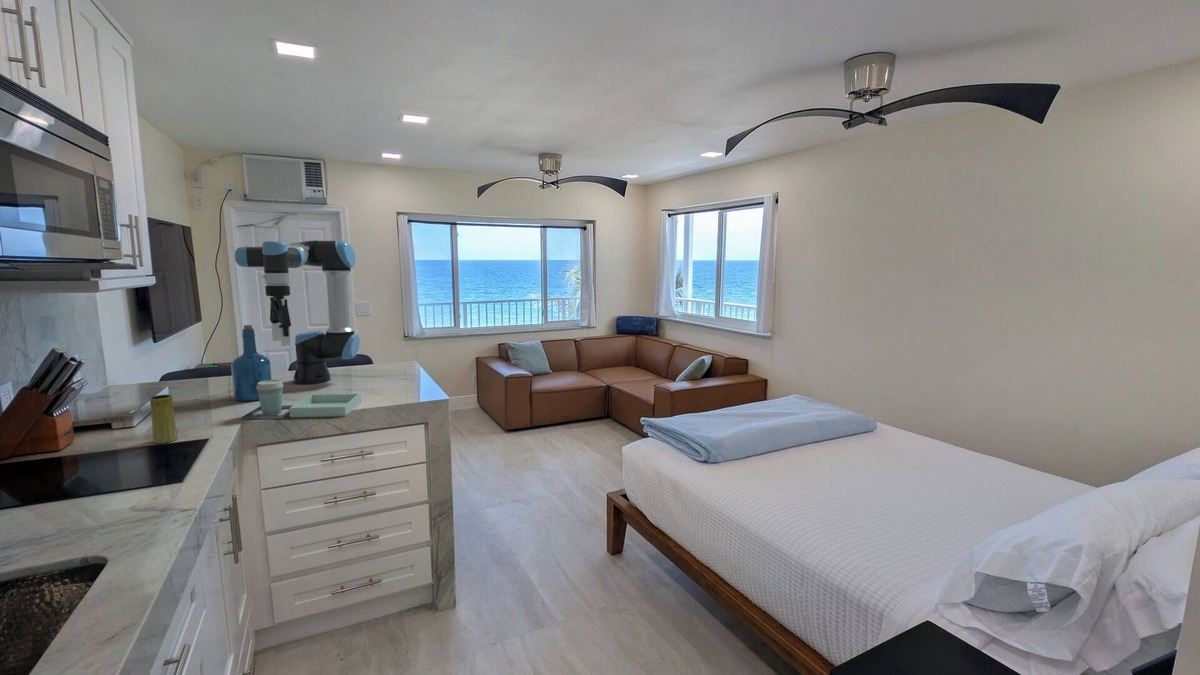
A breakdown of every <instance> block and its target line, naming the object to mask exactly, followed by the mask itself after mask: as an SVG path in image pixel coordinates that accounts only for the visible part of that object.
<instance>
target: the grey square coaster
mask: <svg viewBox="0 0 1200 675" xmlns="http://www.w3.org/2000/svg"><path fill="white" fill-rule="evenodd" d="M293 405H294V404H289V405H286V404H282V409H281V410H284V409H285V410H286V409H288V410H287V411H285V412H284V413H281V414H277V415H255V414H257V413H259V412H262V409H261V405H260V406H258V407H256V408H255V409H253V410H251V411H250V412H248V413H246V414H245V415H242V416H241V420H245V421H246V420H249V421H251V420H284V419H286V418H287V417H288V416H289V417H290V407H292V406H293Z"/></svg>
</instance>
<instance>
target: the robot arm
mask: <svg viewBox="0 0 1200 675" xmlns="http://www.w3.org/2000/svg"><path fill="white" fill-rule="evenodd" d="M234 260H235V262H236V264H237V265H238V266H239V267H242V268H263V273H264V274H263V275H262V279H264V283H265V289H264V290H265V296H267V297H270V299H269V300H270V306H269V307H270V309H269V310H270V311H269V321H270V324H271V334H272V341H273V342H277V341H280V342H281V343H280V344H281V346H282V347H284V346H291V330H290V329H291V328H290V327H291V326H292V322H291V317H290V312H289V306H288V300H287V298H286V299H285V297H288V296H290V295H291V288H290V287H291V286H290V285H288V284H290V272H289V269H297V268H300V267H302V266H309V267H319V268H320V267H321V270H322V272H323V273H324V274H325V275H326V288H327V289H326V292H327V305H328V306H327V308H328V321H329V323H328V325H329V327H328V328H327V329H326V330H325V331H324V330H313V331H305V332H301V333H298V334H296V335H295V337H294V338H295V339H294V340H295V341H294V342H295V343H294V345H295V357H296V368H295V372H294V375H293V378H292V379H293V383H294V384H296V385H318V384H323V383H326V382H329V381H330V380H331V378H332V377H331V372H330V370H329V368H328V366H327V364H326V360H352V359H354V358H355V357H356V356H357V354H358V352H359V349H360V345H361V344H360V342H361V340H360V337H359V335H358V334H356V333H355V329H354V328H352V326H351V316H350V315H351V314H350V301H349V300H350V299H349V298H350V297H349V296H350V294H349V283H348V282H349V281H348V279H349V278H348V275H349V273H351V272H352V270H351V268H354V267H355V265H356V254H355V250H354V248H353V246H352V244H350V243H349V242H348V241H344V240H315V239H314V240H305V241H299V242H298V241H297V242H291V243H289V244H287V242H285V241H272V240H271V241H269V240H268V241H267V240H266V241H264V242H262V246H239V247H237V248H236V249H235V252H234Z"/></svg>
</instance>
